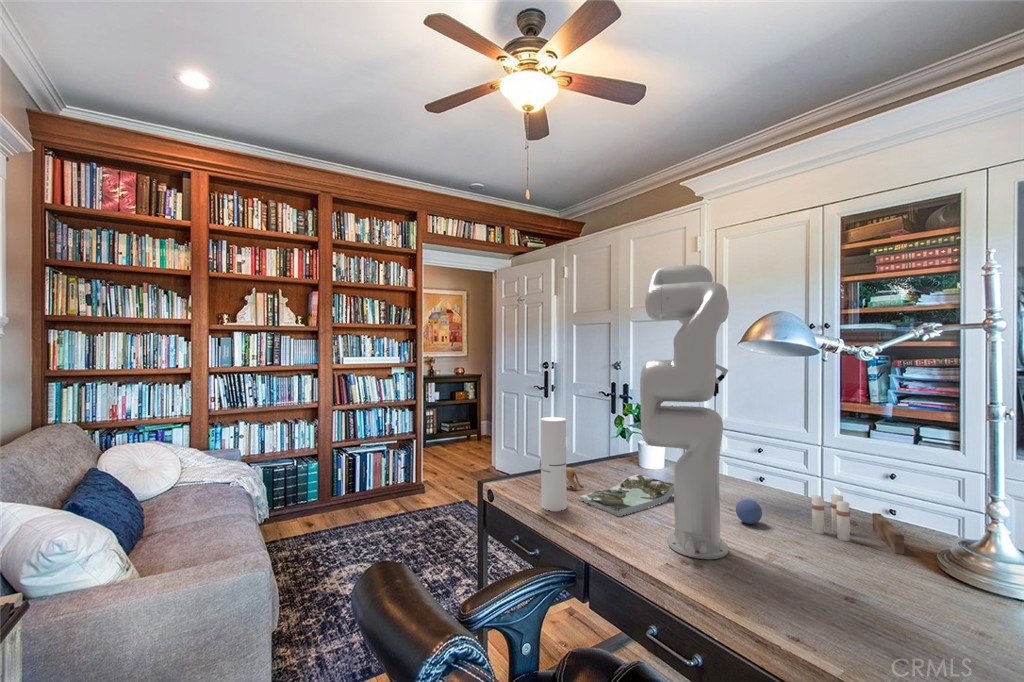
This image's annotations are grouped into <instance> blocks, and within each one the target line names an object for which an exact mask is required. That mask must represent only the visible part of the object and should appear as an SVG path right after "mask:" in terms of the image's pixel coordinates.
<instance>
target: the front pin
mask: <svg viewBox="0 0 1024 682" xmlns="http://www.w3.org/2000/svg"><path fill="white" fill-rule="evenodd" d="M824 498H825V497H824V496H821V495H816V494H815V495H814V494H812V495H811V504H810V505H811V518H812V519H811V520H812V521H811V523H812V524H811V525H812V530H811V531H812V532H813V533H815V534H817V535H818V534H819V535H824V534H825V504H824V503H825V502H824V501H825V500H824Z"/></svg>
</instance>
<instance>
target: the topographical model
mask: <svg viewBox="0 0 1024 682" xmlns="http://www.w3.org/2000/svg"><path fill="white" fill-rule="evenodd" d="M672 495H674V483H672V482H668V481H663V480H661V479H660V480H659V479H656V478H652V477H648V476H644V475H642V474H638V473H637V474H634V475H631V476H627V477H626V478H624V479H623V480H621V481H620V482H619V483H618V484H617V485H615V486H613V487H611V488H605V489H600V490H596V491H594V492H589V493H586V494H583V495H580V496H579V498H580V499H579V500H580V502H582V501H584V502H586V503H585V504H587V503H589V504H591V505H590V506H592V505H594V506H596V507H595V508H597V507H599V508H601V509H600V510H602V509H603V510H602V511H604V510H605V511H604V512H606V511H608V512H607V513H609V512H610V513H609V514H611V513H612V515H614V514H615V515H614V516H616V515H617V517H619V516H620V517H623V515H624V516H626V514H627V515H630V513H631V514H633V513H632V512H635V513H637V512H636V511H638V512H640V511H639V510H641V511H643V510H642V509H645V508H648V507H651V506H654V505H656V504H659V503H662V504H664V503H666V502H667V501H668V500H669V499H670V497H671V496H672ZM584 502H583V503H584ZM589 504H588V505H589ZM659 505H660V504H659ZM594 506H593V507H594ZM654 507H655V506H654ZM599 508H598V509H599ZM651 508H652V507H651ZM648 509H649V508H648ZM645 510H646V509H645Z"/></svg>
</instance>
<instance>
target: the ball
mask: <svg viewBox="0 0 1024 682" xmlns="http://www.w3.org/2000/svg"><path fill="white" fill-rule="evenodd" d="M735 513H736V516H737V517H738V519H739V520H740V521H742V523H745V524H747V525H754V524H757V523H759V522H760V520H761V519H762V517H763V511H762V507H761V506H760V505H759V503H758V502H756V501H755V500H753V499H749V498H744V499H741V500H739V501H738V502H737V504H736V506H735Z"/></svg>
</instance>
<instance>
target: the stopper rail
mask: <svg viewBox="0 0 1024 682" xmlns="http://www.w3.org/2000/svg"><path fill="white" fill-rule="evenodd" d="M872 530H873V531H874V532H875V533H876V534H877V535H878V536H879V538H880V539H882V541H883V542H884V543H885V544H886V545H887V546H888V547H889V548H890V550H892V551H893V553H894V554H898V555H905V535H904V534H903V533H902V532H901V531H900V530H899V529H897V528H896V527H895V526H894V525H893V524H892V523H891V522H890V521H889V520H888V519H887V518H886V517H884V515H882V513H878V512H877V513H876V512H872Z"/></svg>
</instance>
